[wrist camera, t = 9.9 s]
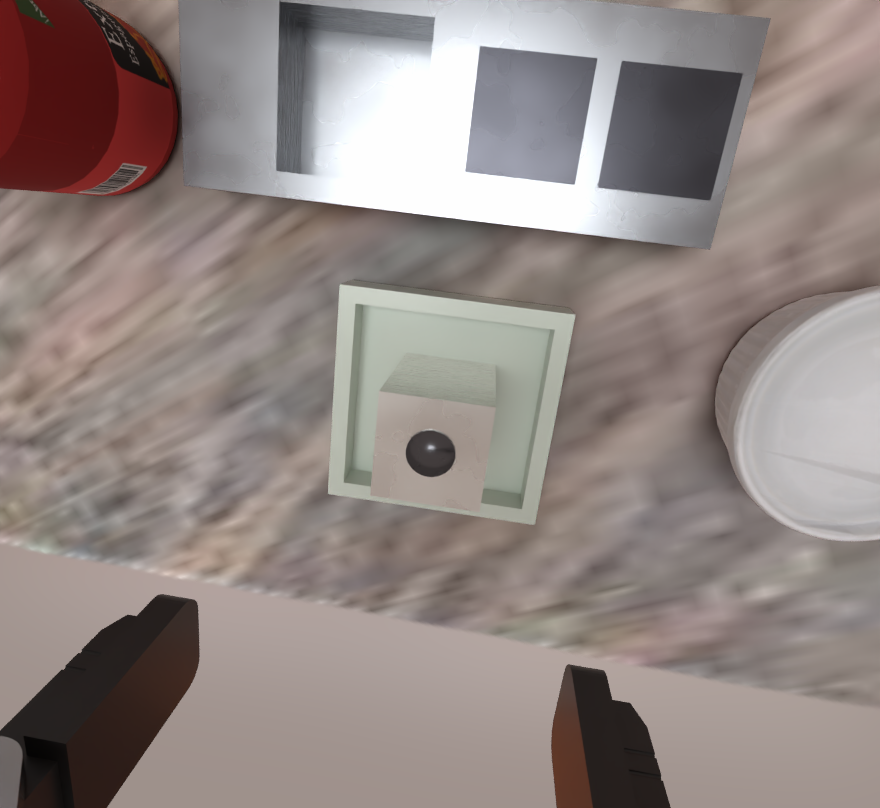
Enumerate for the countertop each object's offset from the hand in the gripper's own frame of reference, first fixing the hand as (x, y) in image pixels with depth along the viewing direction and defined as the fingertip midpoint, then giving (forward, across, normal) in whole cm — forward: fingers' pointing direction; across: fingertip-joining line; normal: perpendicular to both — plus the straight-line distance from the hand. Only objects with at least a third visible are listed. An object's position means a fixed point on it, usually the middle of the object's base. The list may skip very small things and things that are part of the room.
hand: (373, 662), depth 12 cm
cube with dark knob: (+18, 0, 0) cm, 18 cm away
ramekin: (+19, -18, -3) cm, 26 cm away
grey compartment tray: (+18, +1, -13) cm, 23 cm away
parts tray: (+19, 0, 0) cm, 19 cm away
